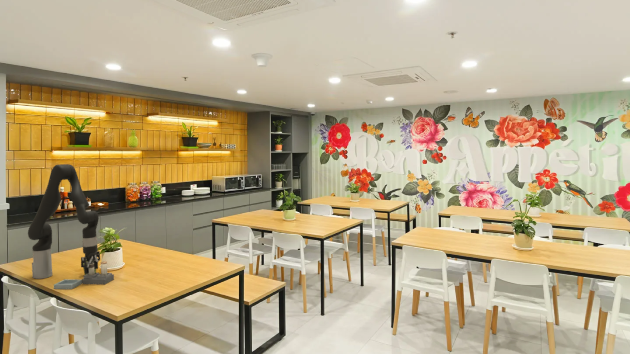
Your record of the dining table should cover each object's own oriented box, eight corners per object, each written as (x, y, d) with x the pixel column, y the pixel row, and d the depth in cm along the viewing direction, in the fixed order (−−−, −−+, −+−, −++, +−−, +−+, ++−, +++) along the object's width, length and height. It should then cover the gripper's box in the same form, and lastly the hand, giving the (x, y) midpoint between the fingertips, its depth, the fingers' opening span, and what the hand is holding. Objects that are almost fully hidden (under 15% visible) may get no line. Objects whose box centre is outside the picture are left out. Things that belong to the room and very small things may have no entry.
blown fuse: (87, 277, 224) (86, 262, 223) (90, 275, 227) (89, 261, 226) (92, 277, 223) (91, 262, 223) (95, 275, 227) (95, 261, 226)
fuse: (100, 277, 223) (99, 262, 222) (103, 275, 226) (102, 261, 226) (105, 277, 223) (104, 263, 222) (108, 275, 226) (108, 261, 226)
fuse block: (81, 284, 221) (81, 276, 221) (91, 278, 230) (91, 271, 230) (104, 284, 220) (104, 277, 220) (113, 279, 229) (113, 271, 229)
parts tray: (53, 289, 213) (53, 284, 213) (64, 283, 222) (64, 279, 222) (71, 289, 213) (71, 284, 213) (81, 283, 221) (81, 279, 221)
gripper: (91, 241, 231) (93, 267, 232) (75, 247, 217) (77, 275, 218) (103, 241, 231) (104, 267, 232) (88, 247, 216) (89, 275, 218)
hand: (91, 271), depth 225 cm, fingers open, 8 cm apart
